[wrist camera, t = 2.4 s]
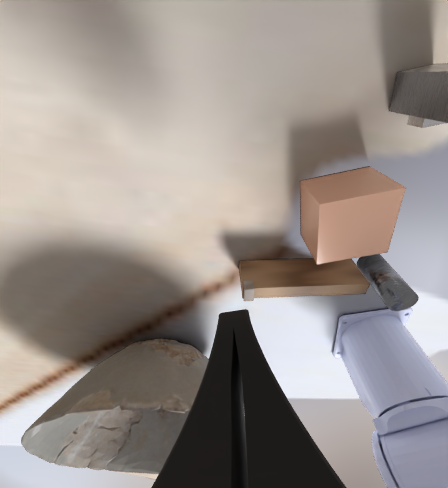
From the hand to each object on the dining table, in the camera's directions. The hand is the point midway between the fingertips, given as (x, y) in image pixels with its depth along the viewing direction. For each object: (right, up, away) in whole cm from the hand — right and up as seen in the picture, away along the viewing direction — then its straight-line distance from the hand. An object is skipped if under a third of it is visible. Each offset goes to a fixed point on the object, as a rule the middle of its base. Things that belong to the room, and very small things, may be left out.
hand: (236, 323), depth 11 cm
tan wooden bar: (+6, +2, +11) cm, 12 cm away
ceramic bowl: (-9, -11, +20) cm, 25 cm away
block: (+8, +7, +7) cm, 13 cm away
